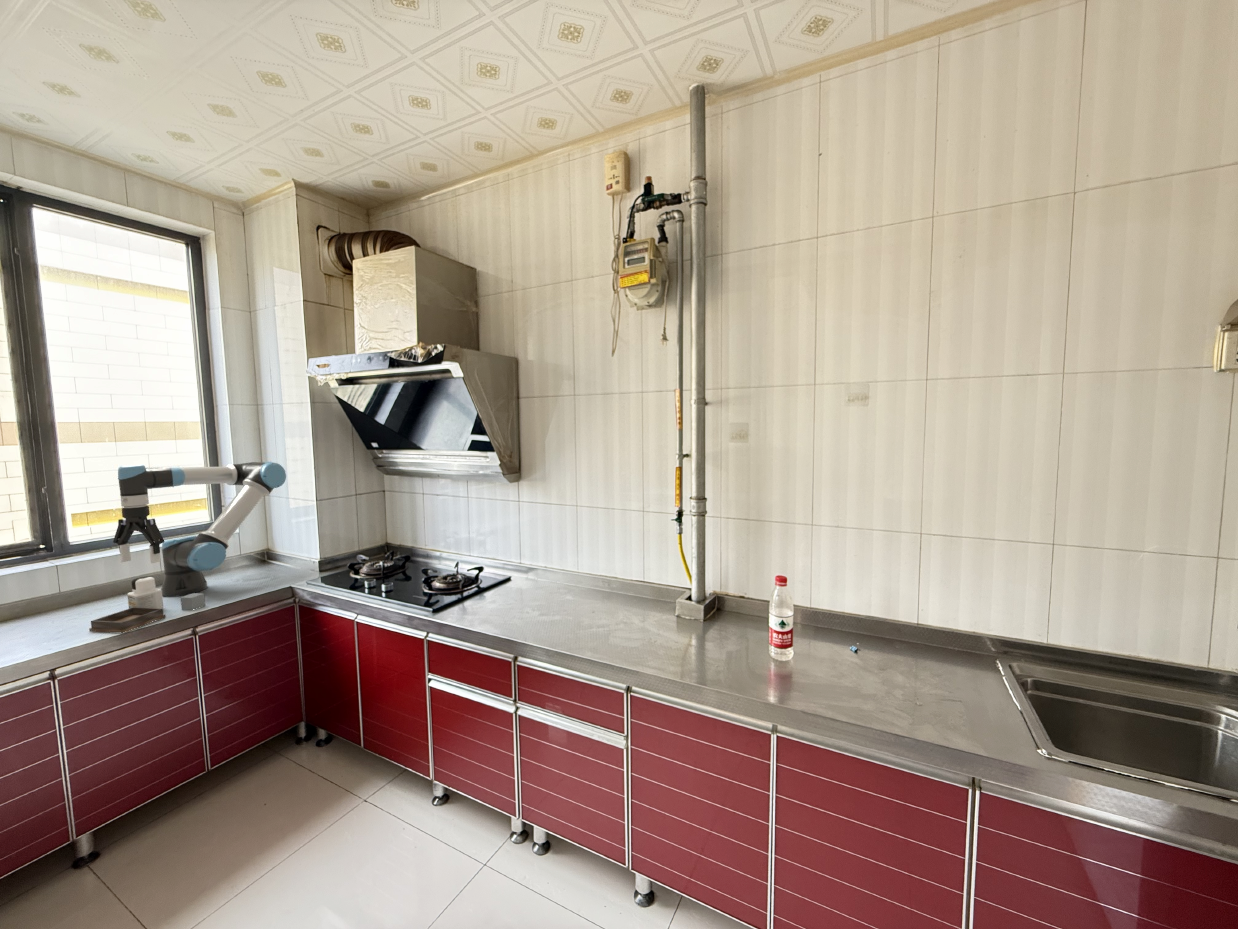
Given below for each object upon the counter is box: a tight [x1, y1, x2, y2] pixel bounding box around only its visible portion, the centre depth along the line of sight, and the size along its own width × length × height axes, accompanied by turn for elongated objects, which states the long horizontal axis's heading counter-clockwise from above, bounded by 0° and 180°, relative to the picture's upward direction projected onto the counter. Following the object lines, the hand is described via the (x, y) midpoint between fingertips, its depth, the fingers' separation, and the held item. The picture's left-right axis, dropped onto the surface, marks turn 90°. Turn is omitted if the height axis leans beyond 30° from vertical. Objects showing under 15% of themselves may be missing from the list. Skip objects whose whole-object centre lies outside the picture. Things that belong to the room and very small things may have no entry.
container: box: [126, 575, 164, 610], centre depth 194 cm, size 8×8×13 cm
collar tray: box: [89, 607, 166, 634], centre depth 182 cm, size 14×14×4 cm
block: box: [179, 592, 206, 611], centre depth 197 cm, size 5×5×5 cm
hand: (140, 561), depth 193 cm, fingers open, 13 cm apart
